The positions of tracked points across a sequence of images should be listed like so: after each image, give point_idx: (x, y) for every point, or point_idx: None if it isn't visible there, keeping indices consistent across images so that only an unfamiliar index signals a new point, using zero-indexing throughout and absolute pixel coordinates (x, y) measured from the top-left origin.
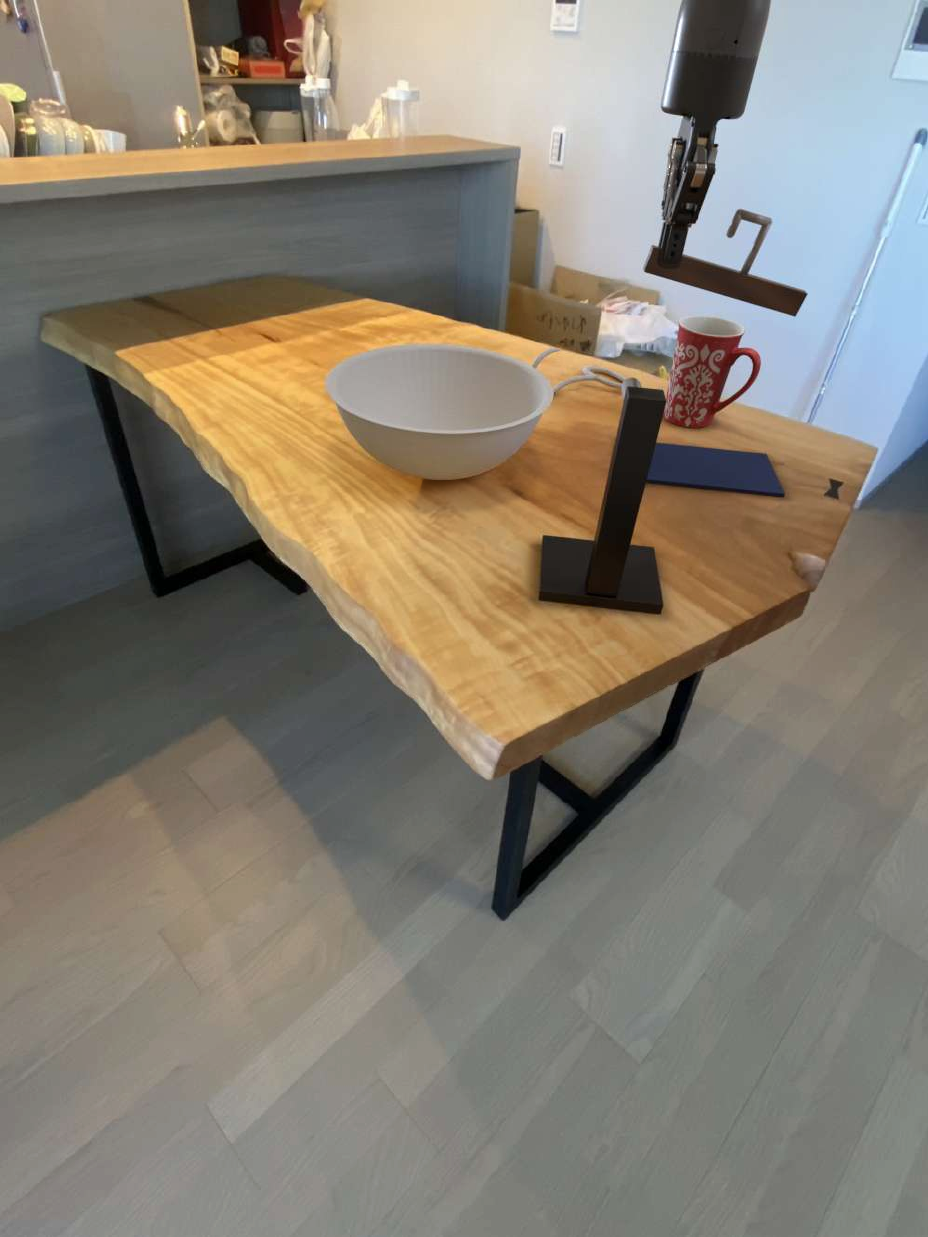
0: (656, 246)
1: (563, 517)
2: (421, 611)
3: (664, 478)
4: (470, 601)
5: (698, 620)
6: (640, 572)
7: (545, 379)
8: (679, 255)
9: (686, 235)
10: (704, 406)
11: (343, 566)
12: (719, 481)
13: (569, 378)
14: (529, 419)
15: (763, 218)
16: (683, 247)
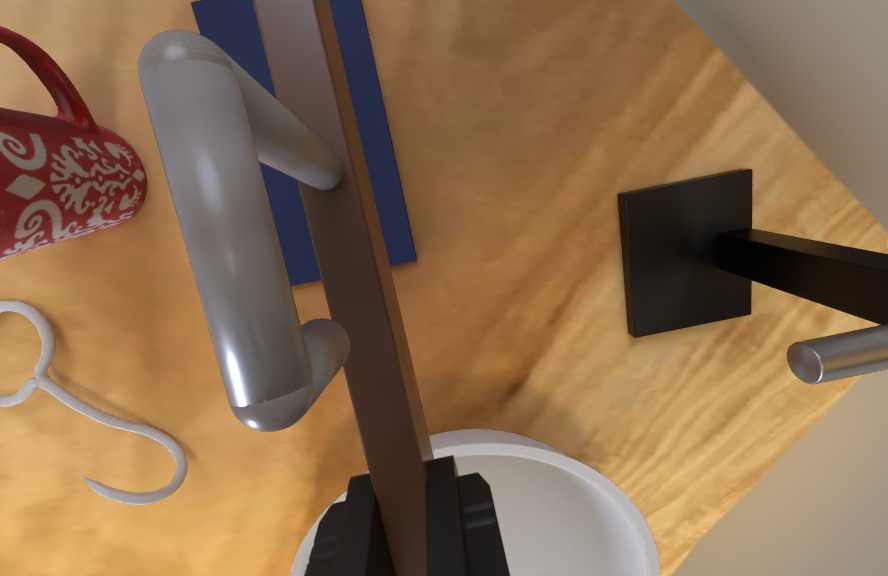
0: None
1: (556, 321)
2: (780, 411)
3: (394, 198)
4: (756, 374)
5: (744, 119)
6: (690, 206)
7: None
8: (490, 494)
9: (464, 556)
10: (105, 149)
11: (722, 501)
12: (362, 101)
13: (96, 419)
14: (565, 457)
15: (230, 138)
16: (459, 510)
